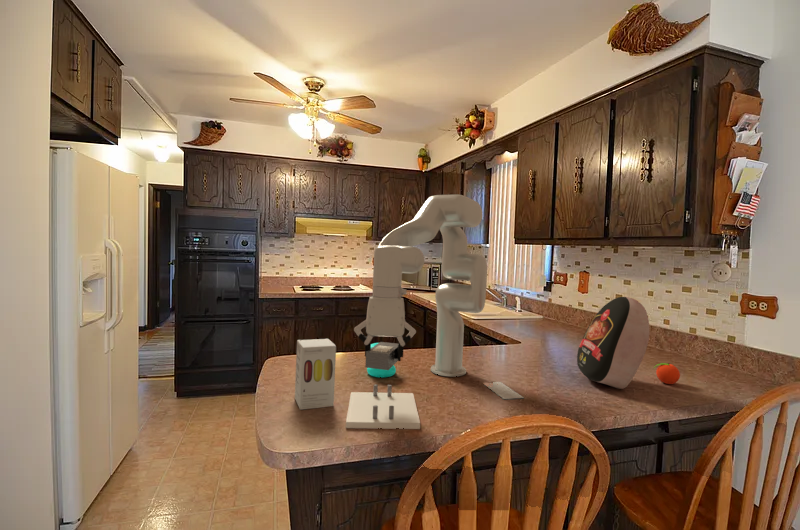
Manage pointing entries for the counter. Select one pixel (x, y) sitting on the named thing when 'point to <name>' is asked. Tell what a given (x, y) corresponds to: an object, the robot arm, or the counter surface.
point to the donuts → (381, 372)
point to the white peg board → (382, 410)
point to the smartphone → (504, 391)
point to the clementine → (667, 373)
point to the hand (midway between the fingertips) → (383, 359)
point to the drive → (382, 356)
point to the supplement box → (315, 373)
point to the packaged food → (615, 343)
